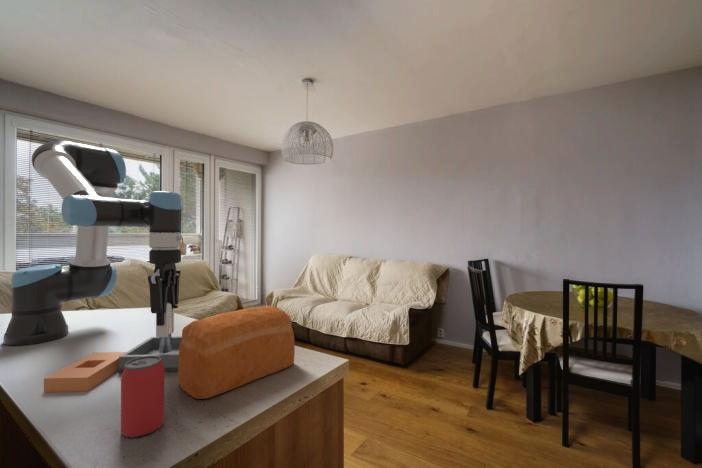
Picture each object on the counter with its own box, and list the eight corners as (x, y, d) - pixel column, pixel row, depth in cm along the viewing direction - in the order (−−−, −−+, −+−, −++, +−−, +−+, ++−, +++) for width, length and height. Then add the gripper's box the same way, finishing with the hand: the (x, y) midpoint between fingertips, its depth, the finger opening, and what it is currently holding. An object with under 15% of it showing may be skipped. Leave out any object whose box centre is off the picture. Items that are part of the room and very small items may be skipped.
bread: (299, 365, 85) (300, 306, 85) (200, 405, 66) (200, 328, 66) (269, 352, 95) (269, 298, 94) (173, 383, 75) (173, 316, 75)
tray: (151, 350, 95) (151, 336, 95) (203, 349, 96) (203, 336, 96) (118, 372, 80) (118, 356, 80) (181, 371, 81) (181, 355, 81)
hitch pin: (162, 349, 89) (162, 300, 89) (173, 349, 90) (173, 300, 89) (156, 353, 86) (156, 303, 86) (168, 353, 87) (168, 303, 86)
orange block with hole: (93, 363, 85) (93, 352, 85) (129, 363, 86) (129, 351, 86) (43, 392, 70) (43, 378, 70) (87, 390, 71) (87, 377, 71)
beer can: (134, 418, 61) (134, 354, 61) (171, 416, 61) (171, 353, 61) (111, 440, 54) (112, 369, 54) (152, 438, 55) (153, 368, 55)
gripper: (165, 250, 80) (165, 344, 80) (191, 247, 96) (191, 325, 96) (133, 250, 80) (133, 345, 80) (165, 247, 95) (165, 326, 96)
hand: (165, 334), depth 88 cm, fingers closed on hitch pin, 3 cm apart
